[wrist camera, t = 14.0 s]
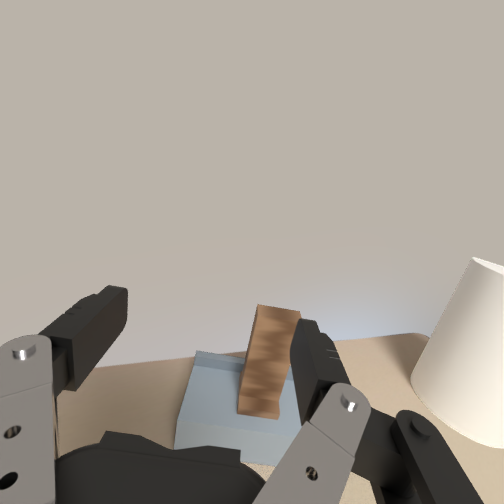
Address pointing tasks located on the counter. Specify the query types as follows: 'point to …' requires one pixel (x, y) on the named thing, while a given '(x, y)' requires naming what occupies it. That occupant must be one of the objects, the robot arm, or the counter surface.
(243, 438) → the display riser
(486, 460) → the counter surface
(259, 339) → the brown wooden block
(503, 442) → the cylinder
